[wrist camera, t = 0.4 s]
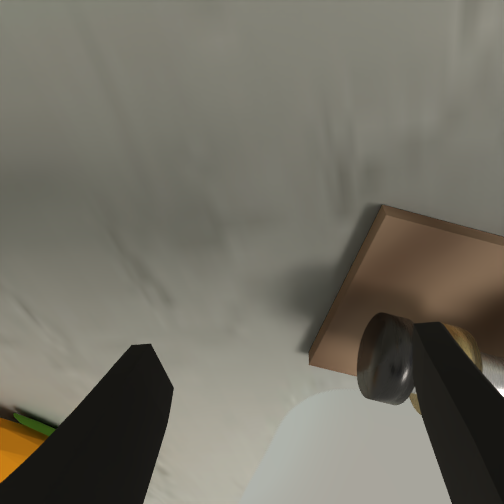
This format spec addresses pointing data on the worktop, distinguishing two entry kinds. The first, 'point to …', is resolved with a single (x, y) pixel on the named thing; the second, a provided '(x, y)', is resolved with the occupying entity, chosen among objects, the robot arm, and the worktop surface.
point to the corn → (19, 442)
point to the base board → (416, 285)
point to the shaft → (408, 359)
